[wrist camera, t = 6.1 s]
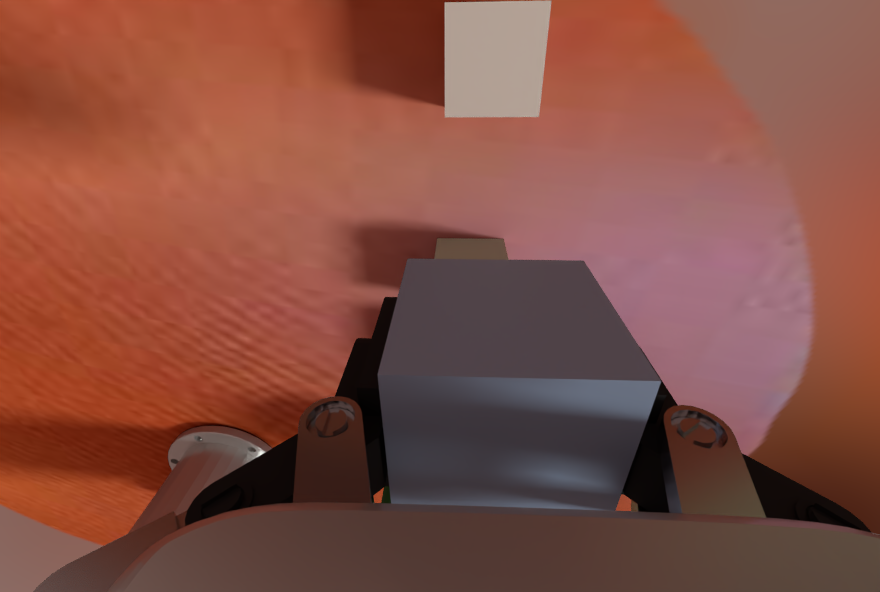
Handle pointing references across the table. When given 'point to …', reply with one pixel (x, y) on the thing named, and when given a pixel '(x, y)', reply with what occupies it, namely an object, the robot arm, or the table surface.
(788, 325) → the table surface
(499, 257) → the sage block
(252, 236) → the table surface
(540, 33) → the cream block
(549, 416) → the slate block
